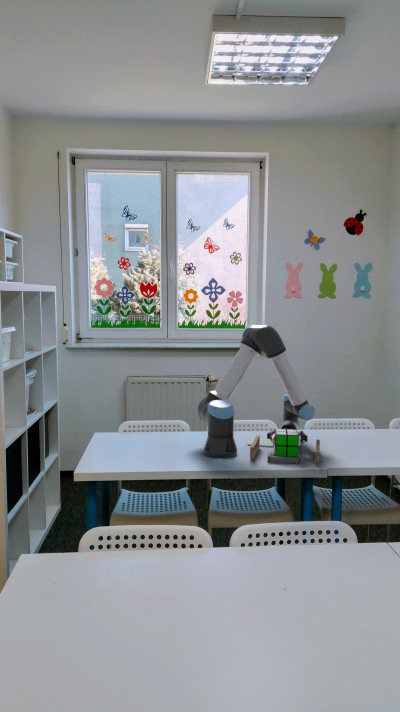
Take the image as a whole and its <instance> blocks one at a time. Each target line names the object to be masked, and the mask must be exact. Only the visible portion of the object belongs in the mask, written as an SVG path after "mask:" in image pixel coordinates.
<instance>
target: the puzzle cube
mask: <svg viewBox="0 0 400 712" xmlns="http://www.w3.org/2000/svg"><path fill="white" fill-rule="evenodd" d="M274 429H275V443H274V447H273V448H274V449H273V450H274V456H279V457H292V458H298V456H299V446H298V444H299V435H298V429H297V430H288V429H287V430H285V429H281V428H274Z"/></svg>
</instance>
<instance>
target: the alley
mask: <svg viewBox="0 0 400 712" xmlns="http://www.w3.org/2000/svg"><path fill="white" fill-rule="evenodd" d="M254 438H255V439H254V441H253V443H252V445H251V446H249V449H250V450H249V453H250V454H249V461H250V462H254V461H255V458H256V456H257V454H258V452H259V450H260V446H259V443H260V435H255V437H254ZM320 444H321V439H318V438H317V439H316V443H315V465H314V466H315V467H319V466H320V447H321V445H320Z"/></svg>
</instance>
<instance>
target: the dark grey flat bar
mask: <svg viewBox="0 0 400 712" xmlns="http://www.w3.org/2000/svg"><path fill="white" fill-rule="evenodd" d="M266 461H267V463H275V464H287V465H296V466H297V465H298V466H301V465H302V455H301V454H298V457H287V456H286V457H279V456H275V455H272V452H268V455H267V460H266Z"/></svg>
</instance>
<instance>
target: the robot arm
mask: <svg viewBox="0 0 400 712" xmlns="http://www.w3.org/2000/svg"><path fill="white" fill-rule="evenodd" d="M241 337H242V338H241V341H240V343H239V347H240V348H239V350H238V351H237V353H236V354H235V356H234V358H233V360H232V361H231V362H230V364H229V366H228V367H227V369H226V370H225V372H224V374H223V376H222V377H221V379H220V380H219V381H218V384H216V386H215V388H214V389H213V390H209V392H208V393H207V395H206V396H205V397H203V398H202V399H200V400H199V402H198V403H197V405H196V412H197V415H198V417H199V419H200V420H201V421H202V422H203V423H206V424H207V437H206V441H205V444H204V447H203V454H204V456H206V457H209V458H212V459H214V458H215V459H228V458H229V459H230V458H233V457H235V456H237V455H238V448H237V447H238V446H237V444H236V441H235V438H234V432H235V431H234V428H235V425H234V424H235V409H234V408H235V407H234V405H233V403H231V402H230V399H231V398H232V396H233V394H234V393H235V391H236V390H237V388H238V386H239V384H241V382H242V380H243V379H244V377H245V375H246V374H247V372H248V371H249V369H250V367H251V366H252V365H253V363H254V361H255V359H256V358H259V357H261V356H262V354H263V352H264V354H265V357H266V359H269V360H270V361H271V363H272V366H273V368H274V370H275V372H276V374H277V377H278V379H279V380H280V383H281V385H282V386H283V389H284V391H285V393H286V394H284V396H283V401H282V402H283V417H282V426H281V428H280V429H285V430H287V429H288V430H297V432H298V428H299V423H300V422H299V419H301V420H303V421H304V420H305V421H311V420H312V419H314V417H315V415H316V409H315V408H314V406H313V405H312V404H310V402H309V401H308V399H307V396H306V395H305V392H304V390H303V388H302V386H301V384H300V383H301V382H300V381H299V379H298V377H297V375H296V373H295V370H294V369H293V365H292V364H291V362H290V360H289V357H288V355H287V347H286V345H285V343H284V341H283V339H282V337H281V335H280V333H279V332H278V330H276V328H274V327H273V326H271V325H268V324H260V323H253V324H250V325H249V326H247V327H246V328H244V330H243V332H242V336H241ZM275 429H276V428H274V429H273V430H270V431H269V432H267V434H266V439H270V440H271V441H272V444H274V445H275V443H274V441H275ZM298 435H299V444H298V447H300V446H301V444H302V443H304V442H307V443H308V438H309V437H308V435H307V434H306V432H305V433H304V431H303V430H300V431H299V432H298Z"/></svg>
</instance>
